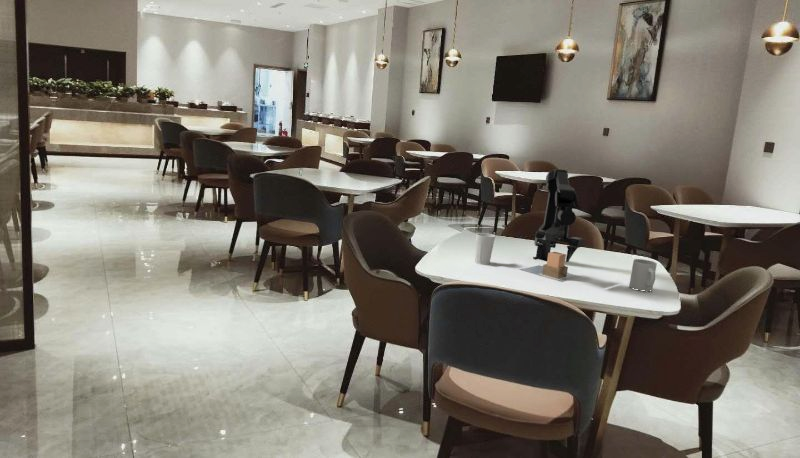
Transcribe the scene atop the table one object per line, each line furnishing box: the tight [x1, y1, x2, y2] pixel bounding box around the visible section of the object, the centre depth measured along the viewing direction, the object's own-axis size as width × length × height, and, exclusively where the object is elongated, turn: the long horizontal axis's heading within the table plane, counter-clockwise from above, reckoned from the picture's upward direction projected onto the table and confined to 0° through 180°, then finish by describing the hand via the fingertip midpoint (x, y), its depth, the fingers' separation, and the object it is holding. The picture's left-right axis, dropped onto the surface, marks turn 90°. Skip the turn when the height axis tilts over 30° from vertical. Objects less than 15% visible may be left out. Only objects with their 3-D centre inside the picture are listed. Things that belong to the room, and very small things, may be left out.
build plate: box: [518, 264, 582, 283], centre depth 246 cm, size 16×20×1 cm
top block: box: [546, 251, 567, 268], centre depth 241 cm, size 5×5×5 cm
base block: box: [542, 263, 569, 279], centre depth 242 cm, size 7×7×4 cm
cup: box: [474, 232, 496, 266], centre depth 255 cm, size 8×8×12 cm
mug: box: [628, 258, 657, 291], centre depth 234 cm, size 12×8×11 cm
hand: (556, 259), depth 241 cm, fingers open, 9 cm apart
